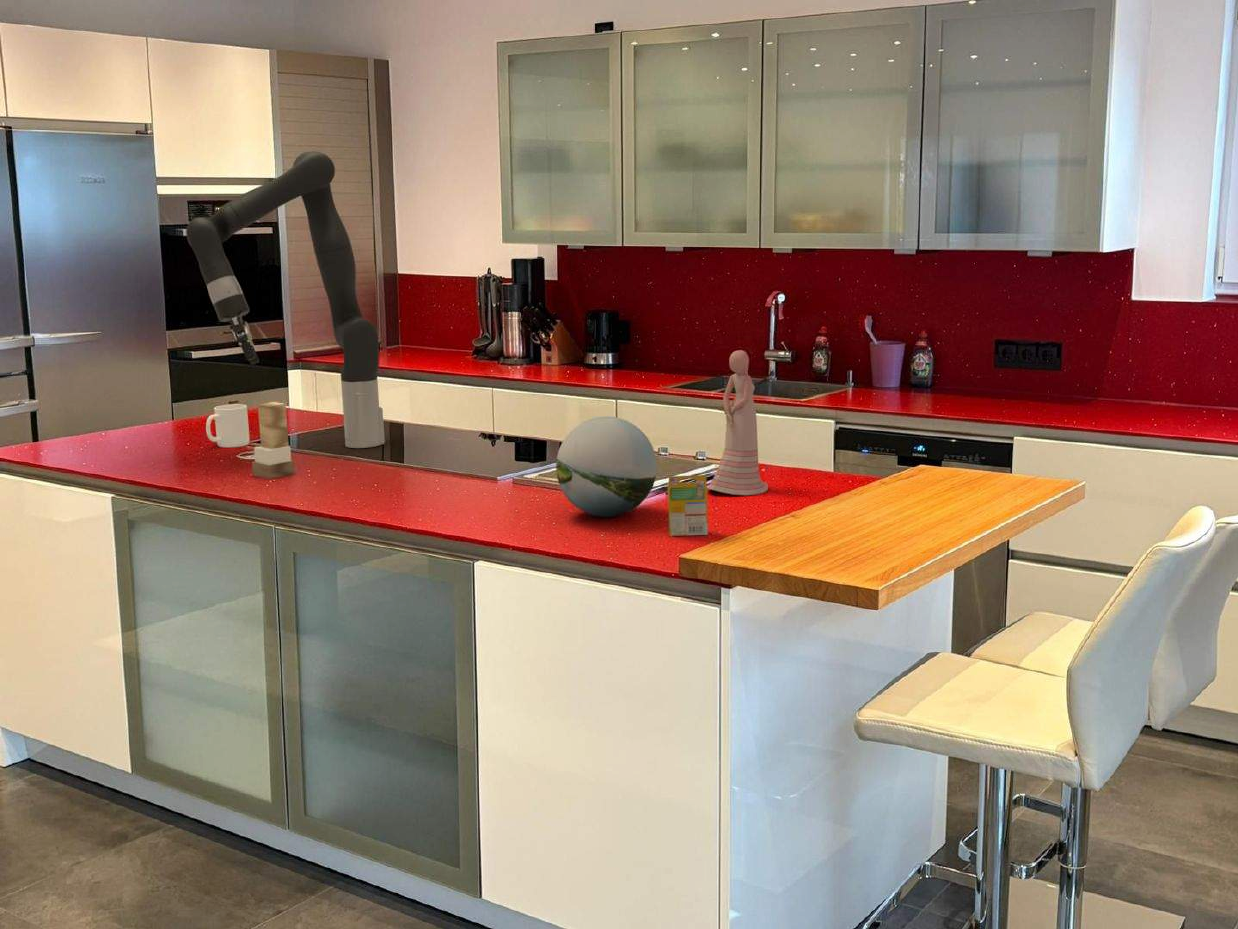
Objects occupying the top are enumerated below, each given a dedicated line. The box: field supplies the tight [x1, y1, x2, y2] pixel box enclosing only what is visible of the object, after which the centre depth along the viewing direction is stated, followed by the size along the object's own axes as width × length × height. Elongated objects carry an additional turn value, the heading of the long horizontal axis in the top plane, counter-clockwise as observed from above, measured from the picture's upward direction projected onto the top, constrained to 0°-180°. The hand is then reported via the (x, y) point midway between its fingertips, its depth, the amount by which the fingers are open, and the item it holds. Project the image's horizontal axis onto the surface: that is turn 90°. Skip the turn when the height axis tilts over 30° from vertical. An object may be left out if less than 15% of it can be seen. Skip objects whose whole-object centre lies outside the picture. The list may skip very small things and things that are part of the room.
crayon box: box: [667, 474, 709, 538], centre depth 254 cm, size 7×3×12 cm, turn 92°
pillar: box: [257, 401, 290, 449], centre depth 316 cm, size 4×4×10 cm
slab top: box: [253, 445, 292, 465], centre depth 317 cm, size 6×6×4 cm
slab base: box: [251, 459, 296, 480], centre depth 318 cm, size 7×7×4 cm
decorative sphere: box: [555, 416, 658, 518], centre depth 269 cm, size 20×20×20 cm
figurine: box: [707, 349, 769, 496], centre depth 287 cm, size 13×13×30 cm
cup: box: [205, 403, 251, 449], centre depth 355 cm, size 8×12×10 cm
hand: (253, 361), depth 327 cm, fingers open, 8 cm apart
